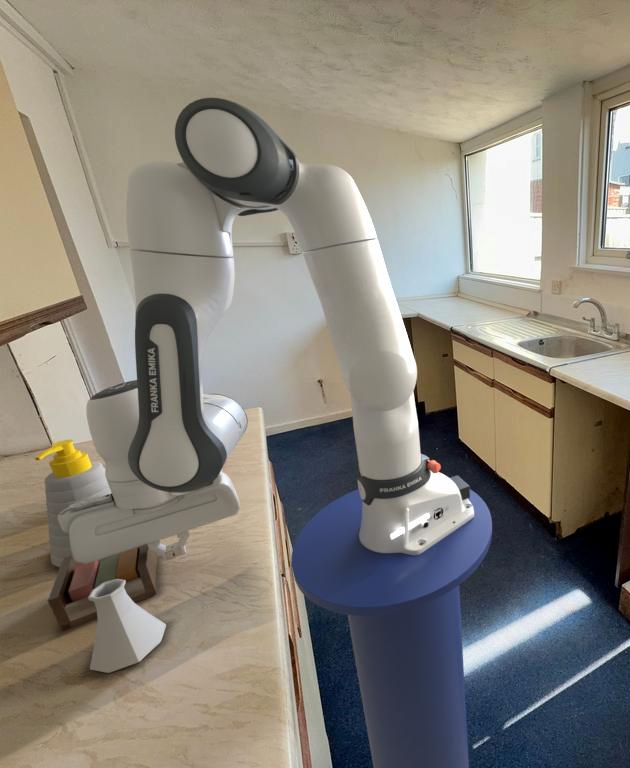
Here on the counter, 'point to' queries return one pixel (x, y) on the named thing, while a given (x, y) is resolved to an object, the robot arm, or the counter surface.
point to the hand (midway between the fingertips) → (175, 555)
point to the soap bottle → (69, 490)
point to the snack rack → (83, 578)
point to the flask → (121, 628)
